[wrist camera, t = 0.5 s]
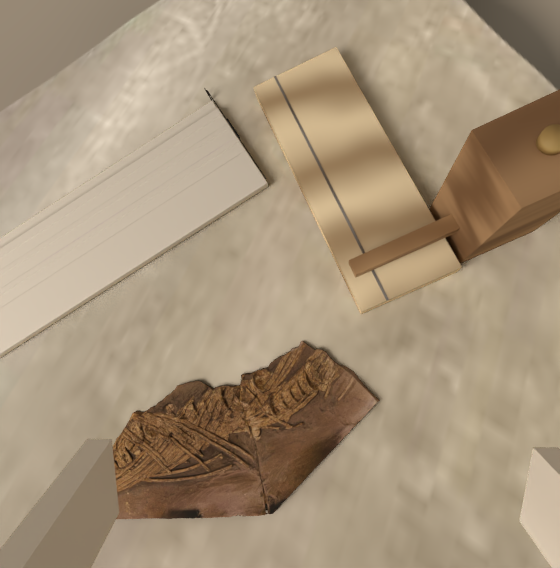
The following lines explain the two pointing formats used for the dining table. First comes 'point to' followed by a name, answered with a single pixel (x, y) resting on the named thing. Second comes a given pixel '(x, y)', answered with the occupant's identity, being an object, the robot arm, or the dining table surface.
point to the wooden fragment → (237, 439)
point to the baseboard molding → (121, 221)
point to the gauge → (490, 188)
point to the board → (351, 177)
